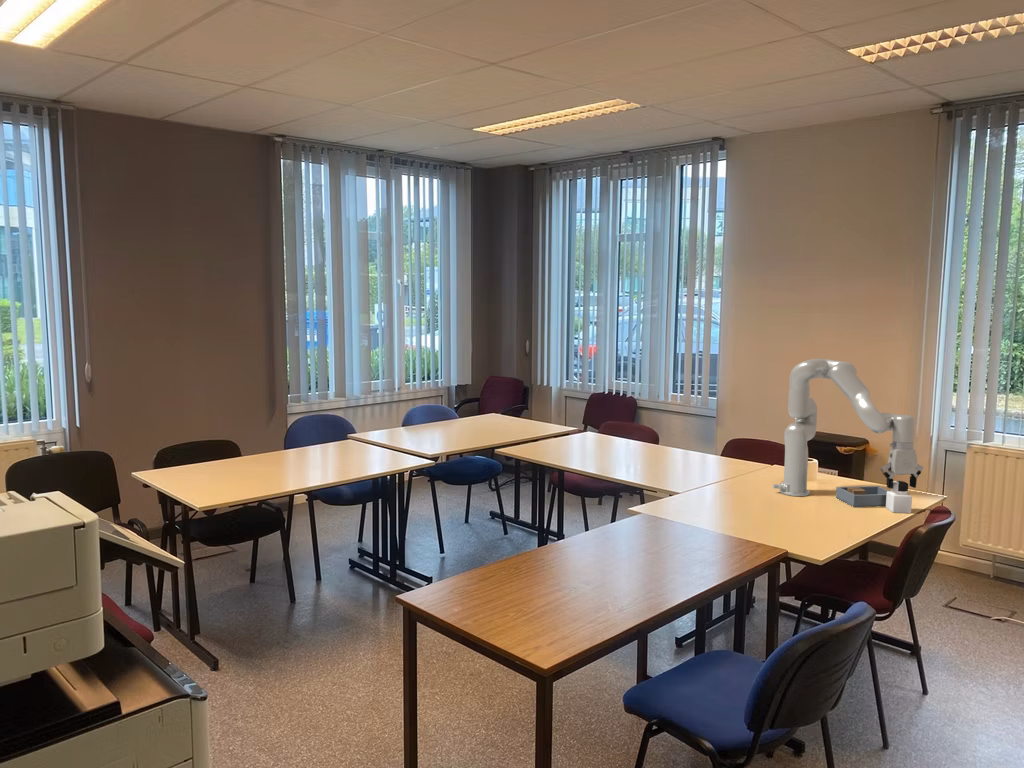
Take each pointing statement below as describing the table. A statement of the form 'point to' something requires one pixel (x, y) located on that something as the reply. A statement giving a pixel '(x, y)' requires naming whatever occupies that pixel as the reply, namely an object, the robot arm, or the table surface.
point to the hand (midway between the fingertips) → (901, 487)
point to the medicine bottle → (899, 498)
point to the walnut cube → (856, 491)
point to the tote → (863, 496)
